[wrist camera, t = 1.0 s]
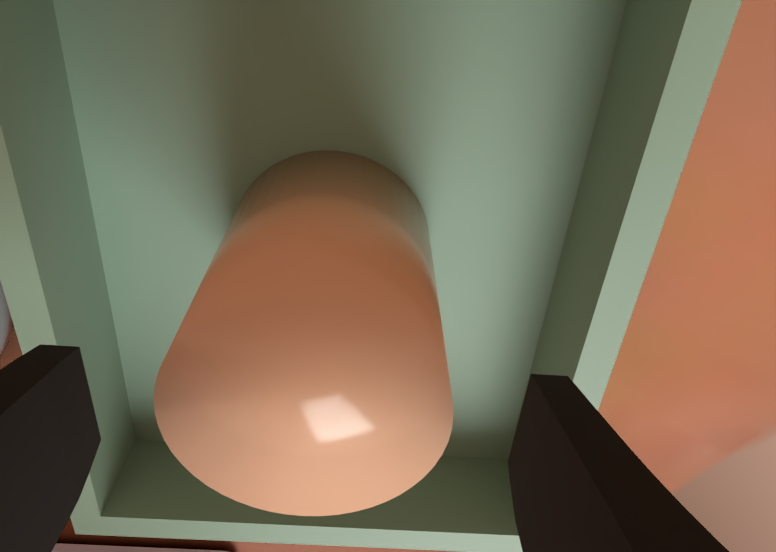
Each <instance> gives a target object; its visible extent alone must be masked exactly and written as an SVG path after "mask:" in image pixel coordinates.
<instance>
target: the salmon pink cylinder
mask: <svg viewBox="0 0 776 552" xmlns="http://www.w3.org/2000/svg"><path fill="white" fill-rule="evenodd" d="M154 411H155V416H156V420H157V424H158V427H159V429H160V432H161V434H162V436H163V439H164V441H165V442H166V444H167V445H168V447H169V449H170V450H171V452H172V453H173V454H174V456H175V457H176V458H177V459H178V460H179V462H180V463H181V464H182V465H183V466H184V467H185V468H186V469H187V470H188V471H189V472H190V473H191V474H192V475H193V476H195V477H196V478H197V479H199V480H200V481H201V482H203V483H204V484H205V485H207V486H209V487H210V488H212V489H214V490H215V491H217V492H219V493H220V494H222V495H224V496H226V497H229V498H231V499H233V500H235V501H237V502H240V503H243V504H246V505H248V506H251V507H254V508H258V509H262V510H266V511H269V512H275V513H281V514H286V515H298V516H329V515H339V514H345V513H351V512H356V511H360V510H364V509H367V508H371V507H374V506H376V505H379V504H382V503H384V502H387V501H389V500H391V499H393V498H395V497H397V496H399V495H401V494H402V493H404V492H405V491H407V490H408V489H410V488H412V487H413V486H414V485H415V484H417V483H418V482H419V481H420V480H421V479H423V478H424V477H425V476H426V475H427V474H428V473H429V471H430V470H431V469H432V468H433V467H434V466H435V465H436V463H437V462H438V460H439V459H440V457H441V456H442V454H443V452H444V450H445V448H446V446H447V444H448V441H449V438H450V434H451V431H452V425H453V415H454V413H453V400H452V393H451V386H450V378H449V371H448V364H447V357H446V350H445V343H444V336H443V329H442V321H441V314H440V307H439V300H438V293H437V286H436V279H435V271H434V264H433V257H432V250H431V243H430V236H429V229H428V224H427V220H426V216H425V214H424V211H423V209H422V206H421V204H420V203H419V201H418V199H417V198H416V196H415V194H414V193H413V192H412V190H411V189H410V188H409V187H408V185H407V184H406V183H405V182H404V181H403V180H402V179H401V178H400V177H399V176H397V175H396V174H395V173H393V172H392V171H391V170H389V169H388V168H386V167H385V166H383V165H381V164H379V163H378V162H376V161H373V160H371V159H369V158H366V157H364V156H360V155H357V154H353V153H349V152H342V151H327V150H321V151H312V152H306V153H302V154H298V155H294V156H291V157H289V158H286V159H284V160H282V161H280V162H278V163H276V164H274V165H273V166H271V167H270V168H268V169H267V170H266V171H264V172H263V173H262V174H260V175H259V176H258V178H257V179H256V180H255V181H254V182H253V183H252V184H251V185H250V187H249V188H248V189H247V191H246V192H245V194H244V196H243V198H242V200H241V201H240V203H239V205H238V208H237V210H236V212H235V214H234V216H233V218H232V220H231V222H230V224H229V226H228V228H227V230H226V232H225V234H224V236H223V238H222V241H221V243H220V245H219V247H218V249H217V251H216V253H215V255H214V257H213V259H212V261H211V263H210V265H209V267H208V269H207V271H206V274H205V276H204V278H203V280H202V282H201V284H200V286H199V288H198V290H197V292H196V294H195V296H194V298H193V300H192V302H191V304H190V307H189V309H188V311H187V313H186V315H185V317H184V319H183V321H182V323H181V325H180V327H179V329H178V331H177V333H176V335H175V337H174V340H173V342H172V344H171V346H170V348H169V350H168V352H167V354H166V356H165V358H164V360H163V362H162V364H161V366H160V368H159V372H158V375H157V378H156V382H155V389H154Z"/></svg>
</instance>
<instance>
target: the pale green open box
mask: <svg viewBox="0 0 776 552" xmlns="http://www.w3.org/2000/svg"><path fill="white" fill-rule="evenodd" d="M741 2H742V0H0V280H1V284H2V287H3V291H4V294H5V297H6V301H7V304H8V308H9V311H10V314H11V318H12V321H13V324H14V328H15V331H16V335H17V338H18V341H19V345H20V348H21V352H22V355H24V354H25V353H27V352H29V351H30V350H32V349H33V348H35V347H37V346H38V345H40V344H43V345H59V346H76V347H80V351H81V355H82V359H83V364H84V368H85V372H86V376H87V381H88V385H89V389H90V393H91V398H92V402H93V406H94V410H95V415H96V419H97V423H98V428H99V432H100V436H101V442H100V444H99V447H98V450H97V453H96V456H95V458H94V461H93V464H92V467H91V470H90V472H89V475H88V477H87V480H86V482H85V485H84V488H83V490H82V493H81V495H80V498H79V500H78V502H77V504H76V506H75V508H74V510H73V512H72V514H71V516H70V518H71V521H72V524H73V528H74V531H75V534H82V535H104V536H127V537H149V538H172V539H194V540H217V541H239V542H262V543H284V544H307V545H329V546H352V547H374V548H397V549H419V550H442V551H464V552H523V551H522V547H521V543H520V539H519V534H518V530H517V526H516V522H515V515H514V508H513V501H512V494H511V485H510V476H509V468H508V458H509V454H510V451H511V447H512V443H513V439H514V435H515V432H516V428H517V424H518V420H519V417H520V413H521V409H522V405H523V402H524V398H525V394H526V390H527V386H528V383H529V379H530V375H531V374H543V375H560V376H568V377H569V378H570V379H571V380H572V381H573V382H574V384H575V385H576V386H577V387H578V388H579V389H580V391H581V392H582V393H583V394H584V395H585V397H586V398H587V399H588V400H589V401H590V402H591V404H592V405H593V406H594V407H595V408H596V410H597V411H598V409H599V406H600V403H601V400H602V397H603V394H604V392H605V389H606V386H607V383H608V380H609V377H610V374H611V372H612V369H613V366H614V363H615V360H616V357H617V355H618V352H619V349H620V346H621V343H622V340H623V337H624V335H625V332H626V329H627V326H628V323H629V320H630V318H631V315H632V312H633V309H634V306H635V303H636V301H637V298H638V295H639V292H640V289H641V286H642V283H643V281H644V278H645V275H646V272H647V269H648V266H649V264H650V261H651V258H652V255H653V252H654V249H655V246H656V244H657V241H658V238H659V235H660V232H661V229H662V227H663V224H664V221H665V218H666V215H667V212H668V210H669V207H670V204H671V201H672V198H673V195H674V192H675V190H676V187H677V184H678V181H679V178H680V175H681V173H682V170H683V167H684V164H685V161H686V158H687V155H688V153H689V150H690V147H691V144H692V141H693V138H694V136H695V133H696V130H697V127H698V124H699V121H700V118H701V116H702V113H703V110H704V107H705V104H706V101H707V99H708V96H709V93H710V90H711V87H712V84H713V82H714V79H715V76H716V73H717V70H718V67H719V64H720V62H721V59H722V56H723V53H724V50H725V47H726V45H727V42H728V39H729V36H730V33H731V30H732V27H733V25H734V22H735V19H736V16H737V13H738V10H739V8H740V5H741ZM321 150H327V151H342V152H349V153H353V154H357V155H360V156H364V157H366V158H369V159H371V160H373V161H376V162H378V163H379V164H381V165H383V166H385V167H386V168H388V169H389V170H391V171H392V172H393V173H395V174H396V175H397V176H399V177H400V178H401V179H402V180H403V181H404V182H405V183H406V184H407V185H408V187H409V188H410V189H411V190H412V192H413V193H414V194H415V196H416V198H417V199H418V201H419V203H420V204H421V206H422V209H423V211H424V214H425V216H426V220H427V224H428V229H429V236H430V243H431V250H432V257H433V264H434V271H435V279H436V286H437V293H438V300H439V307H440V314H441V321H442V329H443V336H444V343H445V350H446V357H447V364H448V371H449V378H450V386H451V393H452V400H453V413H454V415H453V425H452V431H451V434H450V438H449V441H448V444H447V446H446V448H445V450H444V452H443V454H442V456H441V457H440V459H439V460H438V462H437V463H436V465H435V466H434V467H433V468H432V469H431V470H430V471H429V473H428V474H427V475H426V476H425V477H424V478H423V479H421V480H420V481H419V482H418V483H417V484H415V485H414V486H413V487H412V488H410V489H408V490H407V491H405V492H404V493H402V494H401V495H399V496H397V497H395V498H393V499H391V500H389V501H387V502H384V503H382V504H379V505H376V506H374V507H371V508H367V509H364V510H360V511H356V512H351V513H345V514H339V515H329V516H298V515H286V514H281V513H275V512H269V511H266V510H262V509H258V508H254V507H251V506H248V505H246V504H243V503H240V502H237V501H235V500H233V499H231V498H229V497H226V496H224V495H222V494H220V493H219V492H217V491H215V490H214V489H212V488H210V487H209V486H207V485H205V484H204V483H203V482H201V481H200V480H199V479H197V478H196V477H195V476H193V475H192V474H191V473H190V472H189V471H188V470H187V469H186V468H185V467H184V466H183V465H182V464H181V463H180V462H179V460H178V459H177V458H176V457H175V456H174V454H173V453H172V452H171V450H170V449H169V447H168V445H167V444H166V442H165V441H164V439H163V436H162V434H161V432H160V429H159V427H158V424H157V420H156V416H155V411H154V389H155V382H156V378H157V375H158V372H159V368H160V366H161V364H162V362H163V360H164V358H165V356H166V354H167V352H168V350H169V348H170V346H171V344H172V342H173V340H174V337H175V335H176V333H177V331H178V329H179V327H180V325H181V323H182V321H183V319H184V317H185V315H186V313H187V311H188V309H189V307H190V304H191V302H192V300H193V298H194V296H195V294H196V292H197V290H198V288H199V286H200V284H201V282H202V280H203V278H204V276H205V274H206V271H207V269H208V267H209V265H210V263H211V261H212V259H213V257H214V255H215V253H216V251H217V249H218V247H219V245H220V243H221V241H222V238H223V236H224V234H225V232H226V230H227V228H228V226H229V224H230V222H231V220H232V218H233V216H234V214H235V212H236V210H237V208H238V205H239V203H240V201H241V200H242V198H243V196H244V194H245V192H246V191H247V189H248V188H249V187H250V185H251V184H252V183H253V182H254V181H255V180H256V179H257V178H258V176H259V175H260V174H262V173H263V172H264V171H266V170H267V169H268V168H270V167H271V166H273V165H274V164H276V163H278V162H280V161H282V160H284V159H286V158H289V157H291V156H294V155H298V154H302V153H306V152H312V151H321Z"/></svg>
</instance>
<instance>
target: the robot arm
mask: <svg viewBox="0 0 776 552" xmlns="http://www.w3.org/2000/svg"><path fill="white" fill-rule="evenodd" d="M100 442H101V436H100V432H99V428H98V423H97V419H96V415H95V410H94V406H93V402H92V398H91V393H90V389H89V385H88V381H87V376H86V372H85V368H84V364H83V359H82V355H81V351H80V347H76V346H59V345H43V344H40V345H38V346H37V347H35V348H33V349H32V350H30V351H29V352H27V353H25V354H24V355H22V356H21V357H19V358H18V359H16V360H15V361H13V362H12V363H10V364H8V365H7V366H5V367H4V368H3V369H1V370H0V552H229V551H223V550H200V549H177V548H154V547H131V546H109V545H86V544H63V543H57V541H58V539H59V537H60V535H61V533H62V531H63V529H64V527H65V525H66V523H67V522H68V520H69V518H70V516H71V514H72V512H73V510H74V508H75V506H76V504H77V502H78V500H79V498H80V495H81V493H82V490H83V488H84V485H85V482H86V480H87V477H88V475H89V472H90V470H91V467H92V464H93V461H94V458H95V456H96V453H97V450H98V447H99V444H100ZM508 468H509V476H510V485H511V494H512V501H513V508H514V515H515V522H516V526H517V530H518V534H519V539H520V543H521V547H522V551H523V552H729V551H728V550H727V549H726V548H725V547H724V546H723V545H722V544H721V543H720V542H718V541H717V540H716V539H715V538H714V537H713V536H712V535H711V534H710V533H709V532H708V531H707V530H706V529H705V528H704V527H703V526H702V525H701V524H700V523H699V522H698V521H697V520H696V519H695V518H694V517H693V516H692V515H691V514H690V513H689V512H688V511H687V510H686V509H685V508H684V507H683V506H682V505H681V503H680V502H679V501H678V500H677V499H676V498H675V497H674V496H673V495H672V494H671V493H670V492H669V491H668V490H667V489H666V488H665V487H664V486H663V485H662V483H661V482H660V481H659V480H658V479H657V478H656V477H655V476H654V475H653V474H652V473H651V471H650V470H649V469H648V468H647V467H646V466H645V465H644V464H643V463H642V461H641V460H640V459H639V458H638V457H637V456H636V455H635V454H634V453H633V451H632V450H631V449H630V448H629V447H628V446H627V445H626V443H625V442H624V441H623V440H622V439H621V438H620V437H619V435H618V434H617V433H616V432H615V431H614V430H613V428H612V427H611V426H610V425H609V424H608V423H607V421H606V420H605V419H604V418H603V417H602V416H601V414H600V413H599V412H598V411H597V410H596V408H595V407H594V406H593V405H592V404H591V402H590V401H589V400H588V399H587V398H586V397H585V395H584V394H583V393H582V392H581V391H580V389H579V388H578V387H577V386H576V385H575V384H574V382H573V381H572V380H571V379H570V378H569V377H568V376H560V375H543V374H531V375H530V379H529V383H528V386H527V390H526V394H525V398H524V402H523V405H522V409H521V413H520V417H519V420H518V424H517V428H516V432H515V435H514V439H513V443H512V447H511V451H510V454H509V458H508Z"/></svg>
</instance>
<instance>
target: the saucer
mask: <svg viewBox="0 0 776 552" xmlns="http://www.w3.org/2000/svg"><path fill="white" fill-rule="evenodd" d="M12 330H13V321H12V318H11V314H10V311H9V308H8V304H7V301H6V297H5V294H4V291H3V287H2V284H1V280H0V356H1V354H2V353H3V351H4V349H5V347H6V346H7V344H8V341H9V338H10V335H11V332H12Z"/></svg>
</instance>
